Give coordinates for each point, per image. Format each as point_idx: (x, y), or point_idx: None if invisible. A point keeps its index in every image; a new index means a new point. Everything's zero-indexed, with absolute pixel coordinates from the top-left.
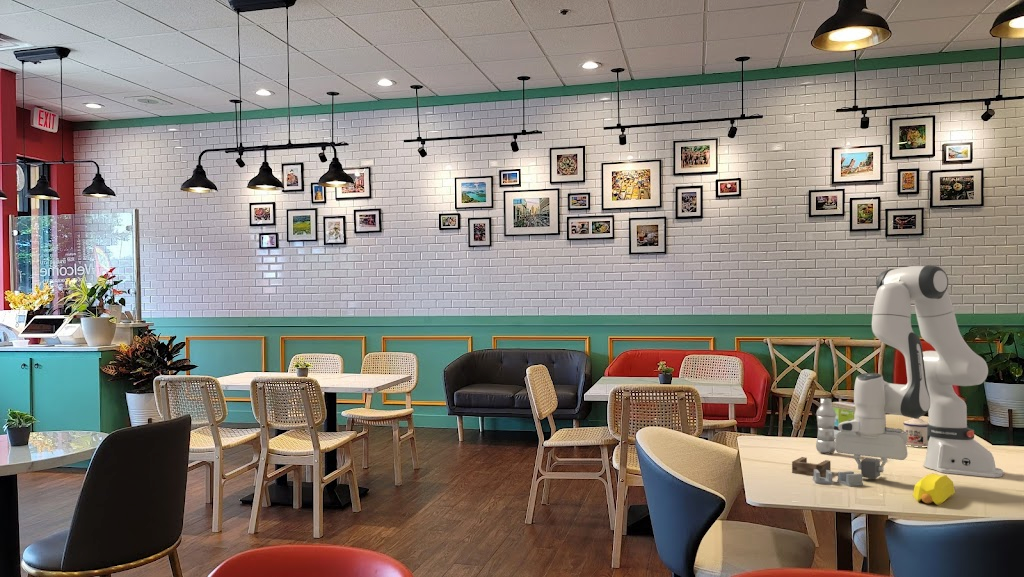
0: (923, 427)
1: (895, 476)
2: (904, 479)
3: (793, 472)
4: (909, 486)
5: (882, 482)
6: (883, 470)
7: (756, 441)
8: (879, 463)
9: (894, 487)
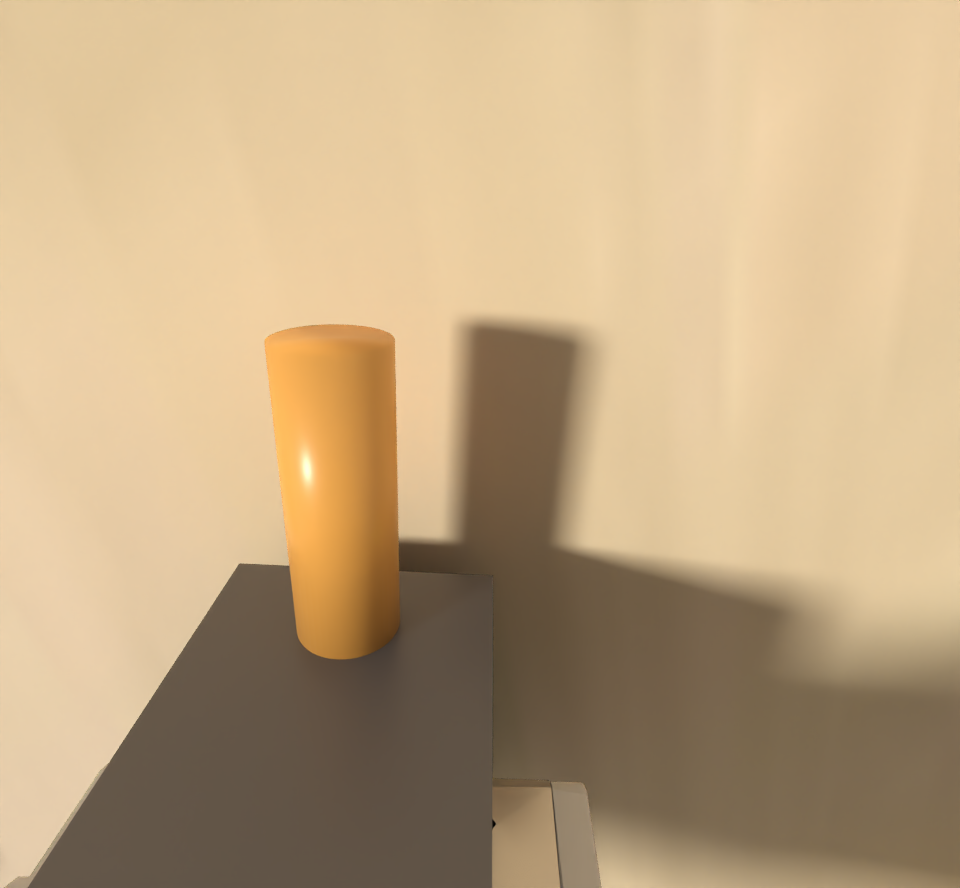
0: None
1: (749, 47)
2: (918, 284)
3: None
4: (913, 750)
5: (560, 726)
6: (587, 797)
7: None
8: (488, 843)
9: (718, 876)
